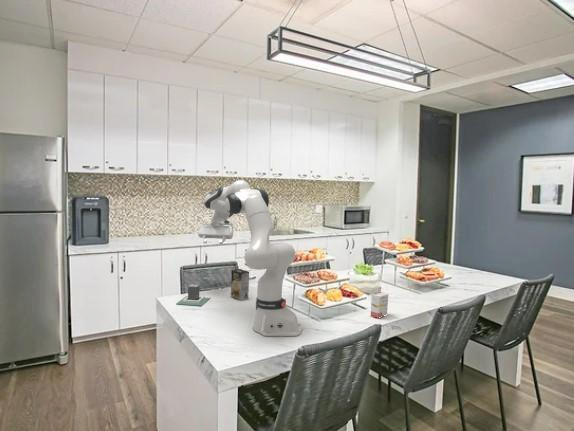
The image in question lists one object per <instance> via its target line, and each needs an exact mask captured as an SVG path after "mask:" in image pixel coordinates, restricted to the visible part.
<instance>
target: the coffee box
mask: <svg viewBox="0 0 574 431" xmlns="http://www.w3.org/2000/svg"><path fill="white" fill-rule="evenodd" d="M230 279H231V280H230V281H231V282H230V298H231V299H234V300H237V301H240V302H242V301H245V300H249V291H250V290H249V288H250V287H249V286H250V271H248V270H244V269H243V268H237V269H232V270H231V278H230Z"/></svg>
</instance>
